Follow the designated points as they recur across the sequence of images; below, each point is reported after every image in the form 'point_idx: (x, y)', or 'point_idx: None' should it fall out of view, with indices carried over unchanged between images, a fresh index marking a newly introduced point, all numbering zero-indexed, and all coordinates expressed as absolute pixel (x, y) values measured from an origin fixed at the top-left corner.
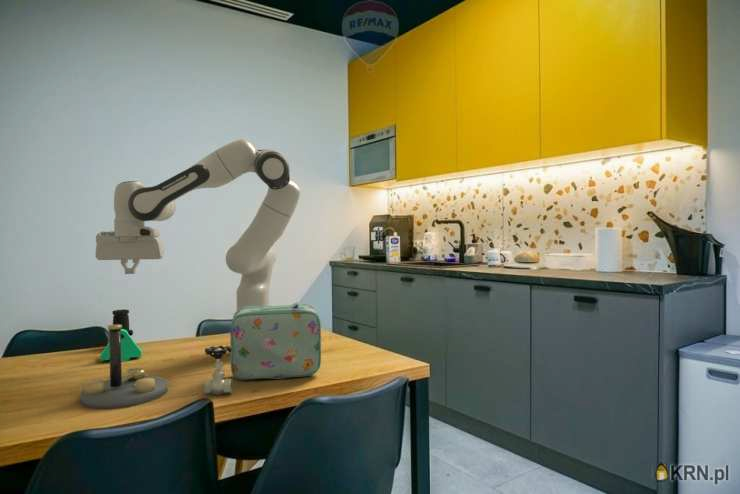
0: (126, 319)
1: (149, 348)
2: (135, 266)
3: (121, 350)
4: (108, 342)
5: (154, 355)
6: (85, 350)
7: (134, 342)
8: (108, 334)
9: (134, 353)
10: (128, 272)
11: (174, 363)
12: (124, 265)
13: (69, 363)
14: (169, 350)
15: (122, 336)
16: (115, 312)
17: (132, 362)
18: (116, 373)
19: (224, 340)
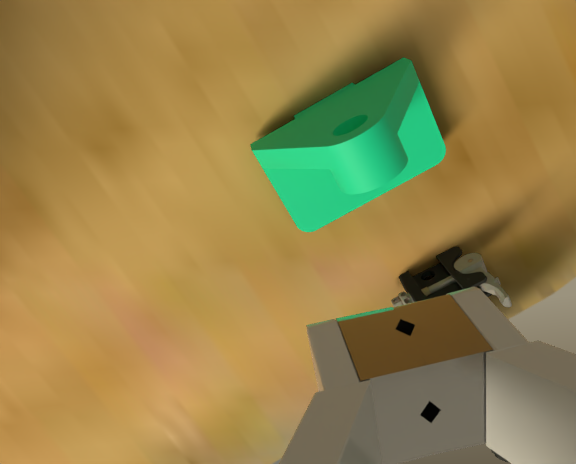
0: None
1: (318, 313)
2: (299, 438)
3: (331, 110)
4: (481, 265)
5: (226, 207)
6: (567, 258)
7: (291, 162)
8: (499, 285)
9: (277, 134)
10: (413, 309)
11: (30, 71)
12: (573, 386)
13: (536, 46)
14: (210, 291)
15: None
16: None
17: (255, 79)
18: None
19: (69, 460)
